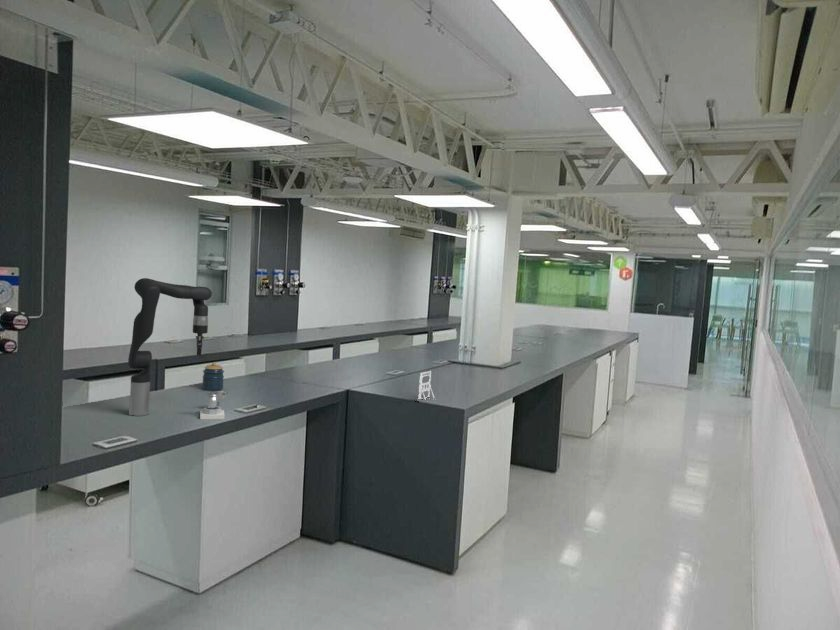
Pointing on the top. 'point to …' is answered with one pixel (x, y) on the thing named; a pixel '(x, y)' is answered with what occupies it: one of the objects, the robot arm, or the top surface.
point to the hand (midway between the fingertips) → (199, 354)
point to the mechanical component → (221, 396)
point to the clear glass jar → (212, 400)
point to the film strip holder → (424, 385)
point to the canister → (213, 377)
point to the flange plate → (212, 413)
